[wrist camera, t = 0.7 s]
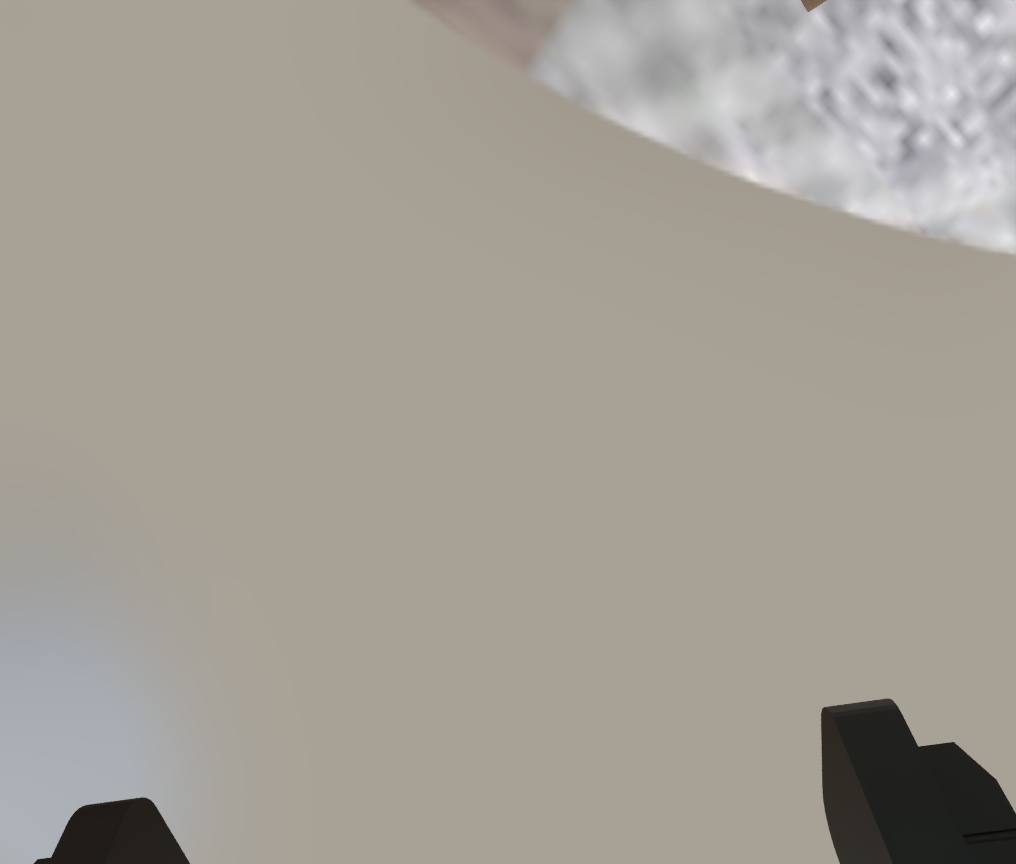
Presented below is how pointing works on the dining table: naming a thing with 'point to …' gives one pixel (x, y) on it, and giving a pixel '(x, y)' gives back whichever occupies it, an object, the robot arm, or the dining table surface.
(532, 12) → the dining table surface
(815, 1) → the brown grey u-shaped block
